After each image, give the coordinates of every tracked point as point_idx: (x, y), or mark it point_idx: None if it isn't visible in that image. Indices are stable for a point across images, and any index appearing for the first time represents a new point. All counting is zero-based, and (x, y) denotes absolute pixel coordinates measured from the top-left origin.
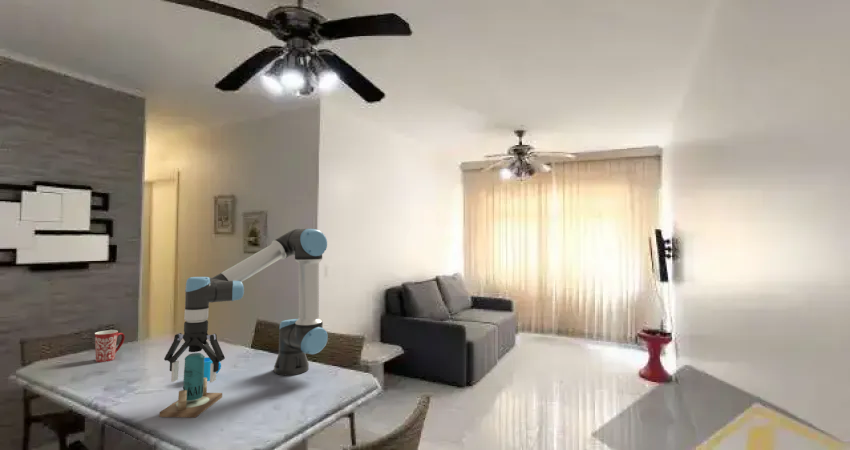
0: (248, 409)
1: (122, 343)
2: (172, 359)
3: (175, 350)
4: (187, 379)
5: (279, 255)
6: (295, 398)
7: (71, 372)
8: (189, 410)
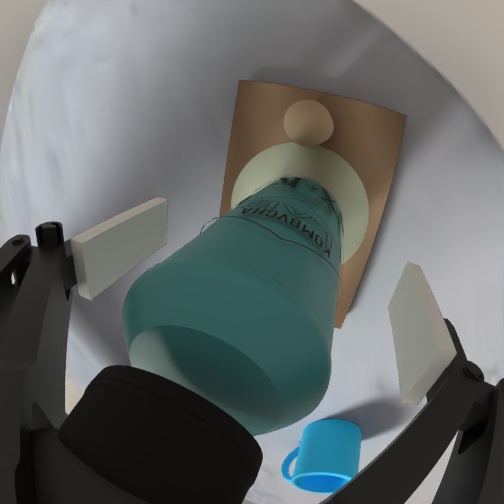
0: (102, 151)
1: None
2: (462, 381)
3: (439, 488)
4: (297, 204)
5: None
6: (43, 222)
7: None
8: (276, 106)
